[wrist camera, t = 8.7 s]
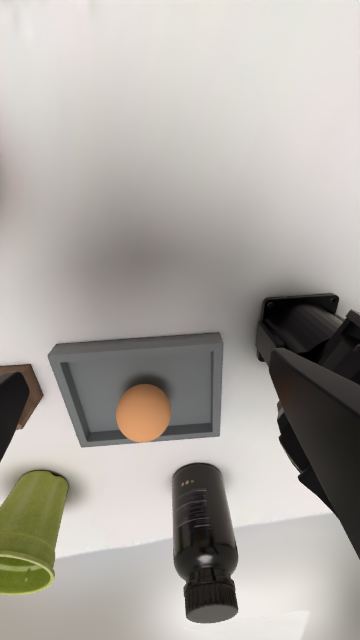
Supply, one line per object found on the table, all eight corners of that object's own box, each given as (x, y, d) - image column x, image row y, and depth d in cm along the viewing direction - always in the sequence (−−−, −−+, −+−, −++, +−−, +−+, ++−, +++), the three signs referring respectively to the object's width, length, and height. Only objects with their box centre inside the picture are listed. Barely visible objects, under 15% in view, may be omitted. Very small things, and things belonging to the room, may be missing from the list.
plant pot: (23, 506, 33) (-21, 600, 25) (-9, 466, 29) (-73, 563, 21) (89, 498, 33) (66, 589, 25) (67, 456, 29) (31, 550, 21)
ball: (168, 370, 23) (170, 411, 19) (171, 407, 25) (174, 452, 21) (116, 375, 23) (105, 417, 18) (124, 412, 25) (116, 457, 21)
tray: (218, 332, 22) (223, 342, 20) (216, 422, 27) (219, 436, 26) (56, 344, 22) (47, 355, 20) (86, 432, 27) (81, 447, 25)
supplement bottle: (229, 481, 33) (260, 617, 22) (186, 496, 34) (195, 632, 23) (209, 454, 30) (232, 595, 19) (162, 472, 31) (160, 614, 20)
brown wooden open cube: (30, 364, 22) (4, 394, 19) (43, 395, 24) (22, 429, 21) (-13, 367, 22) (-47, 398, 19) (3, 398, 24) (-25, 432, 21)
